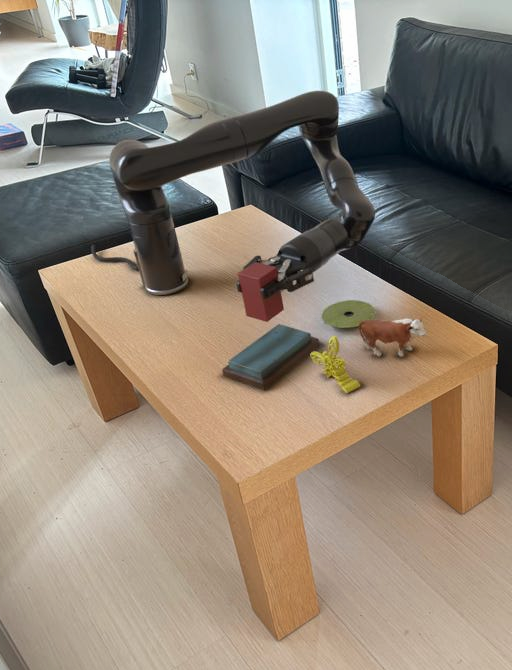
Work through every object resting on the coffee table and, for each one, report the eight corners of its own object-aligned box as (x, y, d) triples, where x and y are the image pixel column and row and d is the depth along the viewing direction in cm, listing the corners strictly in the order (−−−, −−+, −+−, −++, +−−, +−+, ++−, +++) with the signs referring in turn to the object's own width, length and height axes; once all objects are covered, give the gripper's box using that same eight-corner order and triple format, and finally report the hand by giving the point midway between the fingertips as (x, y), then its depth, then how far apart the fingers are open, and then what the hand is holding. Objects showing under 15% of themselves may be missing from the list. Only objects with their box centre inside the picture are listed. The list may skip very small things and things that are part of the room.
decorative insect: (330, 402, 140) (306, 355, 140) (344, 395, 142) (320, 348, 142) (356, 387, 129) (330, 337, 129) (371, 380, 131) (345, 330, 131)
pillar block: (246, 316, 137) (237, 273, 132) (263, 303, 140) (255, 261, 135) (267, 322, 135) (258, 278, 130) (284, 309, 138) (276, 267, 133)
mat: (347, 341, 148) (346, 333, 147) (311, 322, 154) (310, 314, 153) (387, 319, 155) (386, 311, 154) (351, 302, 161) (350, 294, 160)
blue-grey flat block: (223, 376, 139) (220, 362, 137) (280, 333, 151) (278, 320, 150) (264, 390, 135) (261, 376, 133) (319, 345, 147) (317, 331, 145)
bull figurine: (426, 362, 141) (424, 326, 136) (358, 356, 143) (355, 320, 139) (430, 349, 145) (429, 314, 140) (365, 343, 147) (361, 308, 142)
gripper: (339, 277, 144) (284, 318, 132) (281, 263, 150) (224, 300, 137) (334, 242, 139) (278, 281, 127) (275, 229, 145) (216, 264, 133)
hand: (250, 291), depth 132 cm, fingers closed on pillar block, 5 cm apart
